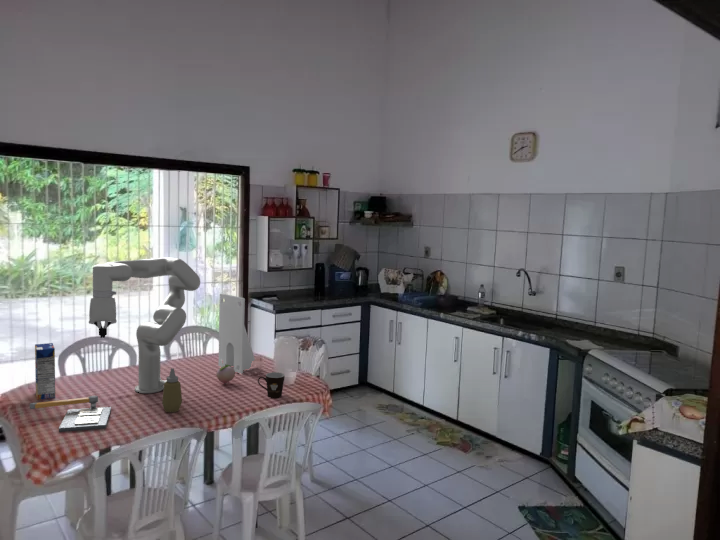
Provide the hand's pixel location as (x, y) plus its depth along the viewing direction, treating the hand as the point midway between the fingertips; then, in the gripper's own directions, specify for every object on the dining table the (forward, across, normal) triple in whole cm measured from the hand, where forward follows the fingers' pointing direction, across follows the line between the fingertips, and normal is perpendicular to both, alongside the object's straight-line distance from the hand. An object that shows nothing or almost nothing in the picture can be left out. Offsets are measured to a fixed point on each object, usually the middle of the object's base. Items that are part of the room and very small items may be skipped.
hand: (102, 337), depth 238 cm
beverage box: (+29, +25, -16) cm, 42 cm away
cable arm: (+26, +13, +9) cm, 30 cm away
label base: (+29, +4, +18) cm, 34 cm away
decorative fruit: (+29, -53, -18) cm, 63 cm away
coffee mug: (+29, -72, +3) cm, 78 cm away
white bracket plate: (+29, -63, -44) cm, 82 cm away
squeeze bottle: (+29, -28, +14) cm, 43 cm away
